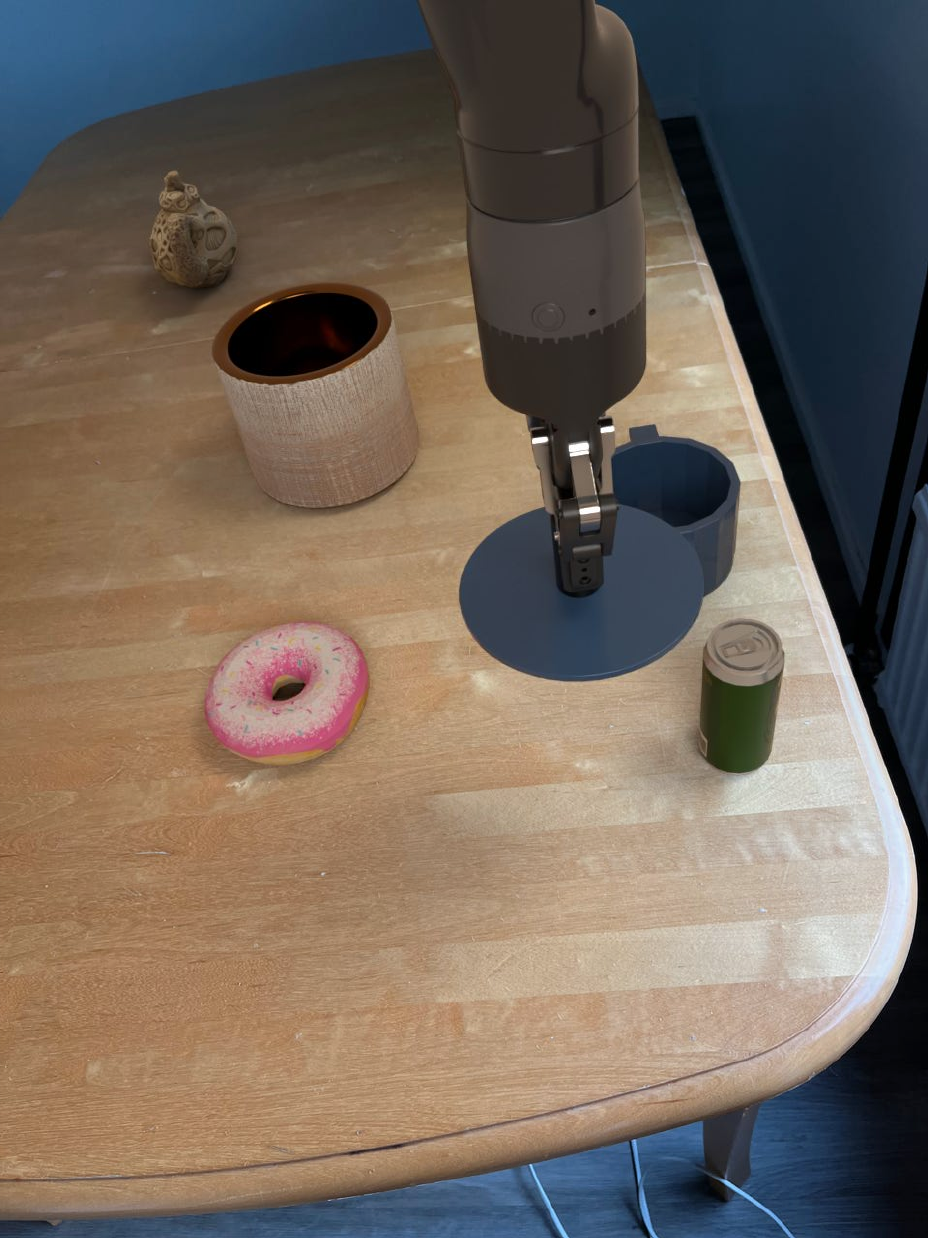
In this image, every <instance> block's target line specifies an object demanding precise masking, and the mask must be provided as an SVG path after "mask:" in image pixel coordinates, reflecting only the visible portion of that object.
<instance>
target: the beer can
mask: <svg viewBox="0 0 928 1238" xmlns="http://www.w3.org/2000/svg"><path fill="white" fill-rule="evenodd" d="M785 663H786V662H785V651H784V647H783V641H782V639H781V636H780V635H779V634H778V632H776V630H775V629H773V627H772V626H770V625H768V624H766V623H764V622H763V621H760V620H756V619H753V618H743V617H738V618H732V619H728V620H726V621H724V622H721V623H719V624H718V625H716V626H715V627H714V628H713V629H712V630H711V631H710V633H709V634H708V637H707V640H706V642H705V644H704V645H703V649H702V664H701V665H702V666H701V667H702V668H701V683H700V703H699V704H700V705H699V721H698V739H697V746H698V749H699V753H700V755H701V756H702V757H703V758H704V760H705V761H706V762H707V764H708V765H709V766H710V767H712V768H713V769H714V770H715V771H717V772H719V773H722V774H725V775H727V776H738V777H739V776H745V775H750V774H751V773H754V772H755V771H757V770H758V769H760V768H761V767H762V766H763V765H764V764H765V763H766V762H767V761H768V760H769V759H770V756H771V754H772V750H773V743H774V736H775V729H776V723H777V717H778V710H779V702H780V698H781V697H780V696H781V689H782V683H783V676H784V668H785Z"/></svg>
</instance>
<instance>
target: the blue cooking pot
mask: <svg viewBox="0 0 928 1238" xmlns="http://www.w3.org/2000/svg"><path fill="white" fill-rule="evenodd" d="M628 437H629V441H628V442H626V443H623V444H621V445H619V446H617V447H616V450H615V452H614V454H613V455H612V457H611V467H612V484H613V493H614V495H615V500H618V503H619V504H621V505H625V506H629V507H633V508H636V509H639V510H642V511H645V512H647V513H649V514H652V515H654V516H656V517H658V518H660V519H661V520H663V521H664V522H666V523H668V524H669V525H671V526H672V527H673V528H674V529H676V530H677V531H678V532H679V533H680V534H681V535H682V536H683V537H684V538H685V539H686V540H687V541H688V542H689V544H690V545H691V547H692V548H693V550H694V551H695V553H696V555H697V557H698V559H699V562H700V564H701V568H702V572H703V577H704V594H703V598H705V597H707V596H708V595H710V594H712V593H713V592H715V591H716V590H717V589H718V588H719V587H720V586H722V585H723V583H724V582H725V581H726V579H727V578H728V576H729V574H730V573H731V571H732V567H733V565H734V558H735V553H736V546H737V533H738V523H739V522H738V521H739V509H740V498H741V483H742V481H741V480H740V477H739V474H738V472H737V471H738V470H737V469H736V466H735V464H734V462H733V461H732V460H730V459H729V458H728V457H727V456H726V455H725V454H723V453H722V452H721V450H718V448H716V447H715V446H711V445H710V444H706V443H704V442H701V441H698V440H695V439H693V438H690V437H679V436H678V437H677V436H669V435H660V434H659V430H658V428H657V425H656V423H653V424H646V425H639V426H632V427H629V428H628Z"/></svg>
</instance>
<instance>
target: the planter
mask: <svg viewBox="0 0 928 1238" xmlns="http://www.w3.org/2000/svg"><path fill="white" fill-rule="evenodd" d="M399 343H400V342H399V339H398V335H397V329H396V325H395V319H394V315H393V311H392V309H391V306H390V304H389V303H388V301H387V300H386V299H385V298H384V297H383V296H381V294H379V293H378V292H376V291H374V290H372V289H370V288H368V287H365V286H362V285H359V284H355V283H354V284H353V283H348V282H340V281H339V282H337V281H323V282H322V281H321V282H312V283H304V284H303V283H302V284H299V285H294V286H290V287H286V288H283V289H279V290H276V291H273V292H271V293H268V294H265V295H263V296H261V297H258V298H257V299H254V300H253V301H251V302H249V303H247V304H246V305H243V307H241V308H239V309H237V311H235V312H234V313H233V314H232V315H231V316H229V317H228V318H227V319H226V320H225V321H224V322H223V323H222V325H220V327H219V328H218V330H217V332H216V333H215V334H214V337H213V340H212V343H211V356H212V360H213V363H214V366H215V368H216V369H215V370H216V372H217V374H218V378H219V380H220V383H221V386H222V388H223V391H224V394H225V397H226V399H227V403H228V405H229V408H230V411H231V414H232V417H233V420H234V423H235V426H236V429H237V432H238V436H239V438H240V441H241V444H242V446H243V449H244V452H245V455H246V458H247V462H248V464H249V466H250V469H251V472H252V475H253V476H254V479H255V481H256V483H257V485H258V486H259V487H260V488H261V490H262V491H263V492H264V493H265V494H267V495H268V496H269V497H270V498H272V499H274V500H276V501H277V502H279V503H283V504H284V505H289V506H292V507H296V508H301V509H311V510H312V509H313V510H314V509H319V510H321V509H334V508H339V507H345V506H349V505H354V504H357V503H360V502H362V501H365V500H367V499H370V498H372V497H374V496H376V495H378V494H380V493H382V492H383V491H385V490H386V489H388V488H389V487H390V486H392V485H394V484H395V483H396V482H397V481H399V479H400V478H401V477H402V476H403V475H404V474H405V473H406V472H407V471H408V470H409V468H411V465H412V464H413V462H414V460H415V459H416V455H417V453H418V449H419V440H420V439H419V430H418V424H417V420H416V415H415V410H414V406H413V401H412V396H411V392H410V388H409V384H408V380H407V375H406V371H405V365H404V362H403V357H402V353H401V348H400V344H399Z"/></svg>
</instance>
